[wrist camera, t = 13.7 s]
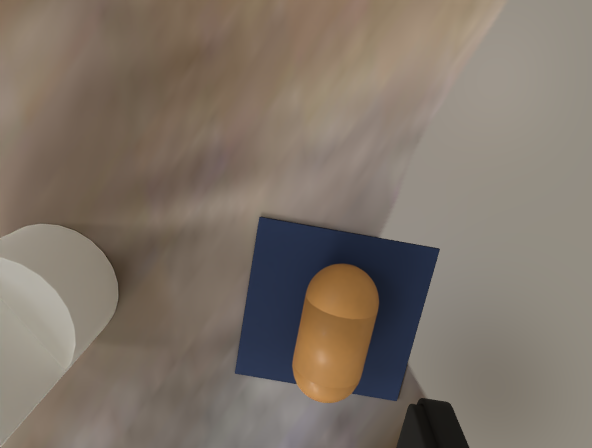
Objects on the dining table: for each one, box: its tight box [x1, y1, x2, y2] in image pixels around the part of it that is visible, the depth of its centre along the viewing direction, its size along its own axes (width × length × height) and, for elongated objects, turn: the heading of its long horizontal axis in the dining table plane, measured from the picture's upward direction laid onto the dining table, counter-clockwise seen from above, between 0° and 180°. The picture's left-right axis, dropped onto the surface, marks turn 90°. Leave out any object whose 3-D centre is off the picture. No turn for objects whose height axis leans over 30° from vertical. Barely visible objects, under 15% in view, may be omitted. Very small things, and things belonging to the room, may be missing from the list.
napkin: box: [235, 217, 440, 401], centre depth 31 cm, size 12×12×1 cm
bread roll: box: [292, 264, 379, 403], centre depth 29 cm, size 9×5×5 cm, turn 170°
